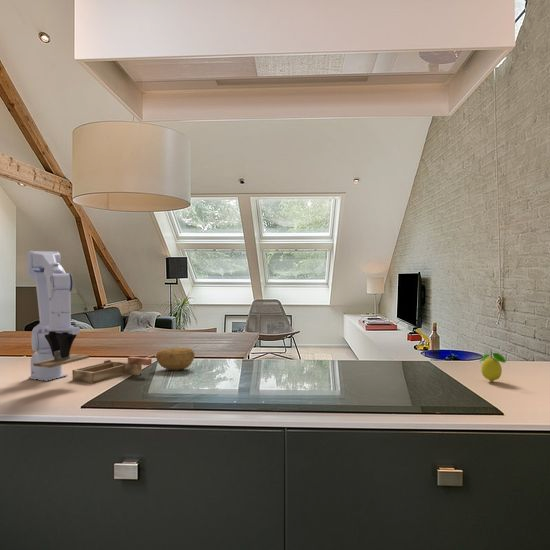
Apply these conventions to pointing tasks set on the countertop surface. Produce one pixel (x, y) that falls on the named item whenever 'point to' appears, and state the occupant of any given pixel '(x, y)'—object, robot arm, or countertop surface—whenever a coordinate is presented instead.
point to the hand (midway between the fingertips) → (60, 356)
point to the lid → (60, 360)
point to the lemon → (492, 366)
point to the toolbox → (106, 371)
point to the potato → (175, 358)
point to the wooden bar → (140, 360)
